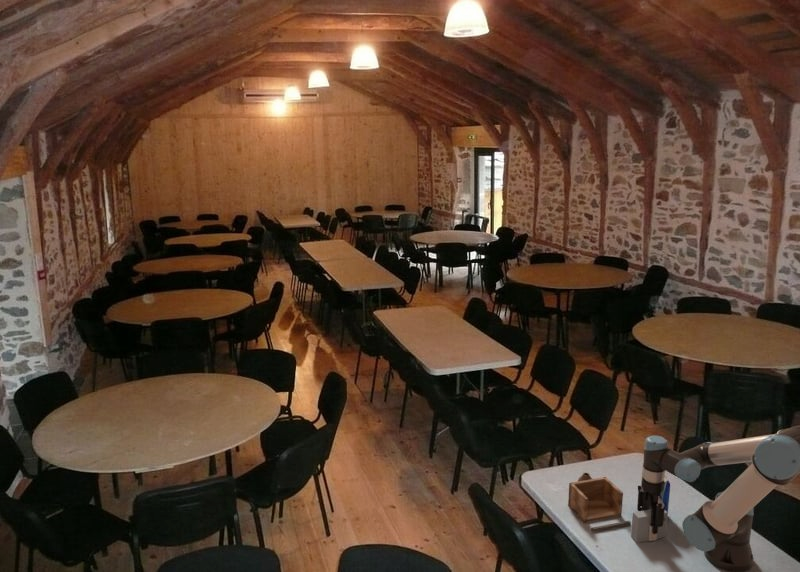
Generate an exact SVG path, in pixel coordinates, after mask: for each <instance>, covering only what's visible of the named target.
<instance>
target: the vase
mask: <svg viewBox="0 0 800 572" xmlns="http://www.w3.org/2000/svg"><path fill="white" fill-rule="evenodd" d="M590 479H593V478H592V477H591V475H590V473H588V472H583V473H582V475H581V476H580V477H578V479H577V481H576V482H578V481H584V480H590Z"/></svg>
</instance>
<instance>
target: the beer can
mask: <svg viewBox="0 0 800 572" xmlns="http://www.w3.org/2000/svg"><path fill="white" fill-rule="evenodd" d="M670 493H671V482H670V481H669V478H668V476H667V475H665V479H664V490H663V491H662V492H661V500H662V502H663V503H666V507H665V511H667V512H668V513H669V503H670ZM649 509H651V507H650V508H649Z"/></svg>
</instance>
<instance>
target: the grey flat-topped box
mask: <svg viewBox="0 0 800 572" xmlns="http://www.w3.org/2000/svg"><path fill="white" fill-rule="evenodd" d="M668 515H669V511H668V512H667V511H664V520H663V526H662V527H658V533H657V537H656V539H662V538H666V537H667V525H668V524H667V523H668ZM650 524H652V523H651V509H649V510H644V511H638V510H637V511H634V512H632V521H631V530H630V531H631V532H630V537H631V538H632V539H633V540H634V541H635V542H636V543H641V542H645V541H649V540H648V539H649V528H650Z"/></svg>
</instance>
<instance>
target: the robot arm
mask: <svg viewBox="0 0 800 572" xmlns="http://www.w3.org/2000/svg"><path fill="white" fill-rule="evenodd" d="M668 442H669V441H668V440H667V439H666V438H665V437H663V436H660V435H650V436H648V437H646V438H645V441H644V447H643V464H642V470H641V483H640V485H637V505H636V507H637V512H638V511H644V510H649V508H650V507H651V523H652V524H650V528H649V539H648V540H647V541H649V542H652V541H657V538H656V537H657V533H658V527H662V526H663V520H664V511H665V507H666V503H663V502H662V500H661V492H662V491H663V490H664V479H665V476H666V472H667V473H669V474H671V475H673V476H675V477H677V478H678V479H680V480H683V481H685V482H688V483H693V482H695V481H696V480H697V478H699V476H700V474H701V470H703V469H706V468H710V467H716V466H725V465H733V464H734V465H735V464H743V463H751V464H750V465H749V466H748V467H746V469H745V470H744V471H743V472H742V473H741V474H740V475H738V477H737V478H736V479H735V480H734V481H733V482H732V483H731V484H730V485H729V486H728V487H727V488H726V489H725V490H724V491H721V492H717V494H716V496H715V497H714V499H715V500H712V499H711V500H707V501H706V502H705V503H703V504H702V505H701V506H700V507H699V508H698V509H697V510H696V511H695V512H694V513H692V514H688V515H687V516H686V517H685V518H684V519H683V521H682V529H683V534H684V536H685V538H686V540H687V541H688V542H689V543H690V545H691V546H693V547H694V549H697V550H700V551H701V552H704V553H703V554H704V557H705V558H706V559H707V561H708V562H710V563H711V564H713V565H714V566H716V567H718V568H720V569H723V570H724V571H725V570H726V571H728V572H747V571H749V570H750V569H752V567H753V566H754V555H753V552H752V548H751V543H750V542H751V541H750V540H751V533H752V527H753V519H754V515H755V513H754V510H755V507H756V506H757V505H758V504H759V503H760V502H761V501H762V500H763V499H764V498H766V496H767V495H769V493H771V492H772V491H773V490H774V489H775V488H776V487H778V486H780V487H784V486H787V485H788V484H790V482H792V481H793V480H794V479H795V478H796V477H797V476H798V475H799V474H800V425H795V426H791V427H789V428H788V427H787V428H785V429H779V430H778V431H777V432H776V433H774V434H765V435H758V436H753V437H745V438H739V439H732V440H725V441H718V442H711V441H707V442H702V443H700V444H698V445H696V446H695V447H692V448H689V449H687V450H684V451H682V452H681V451H680V452H679V451H675V450H673V449H672V448H670V447H669V443H668Z"/></svg>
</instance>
